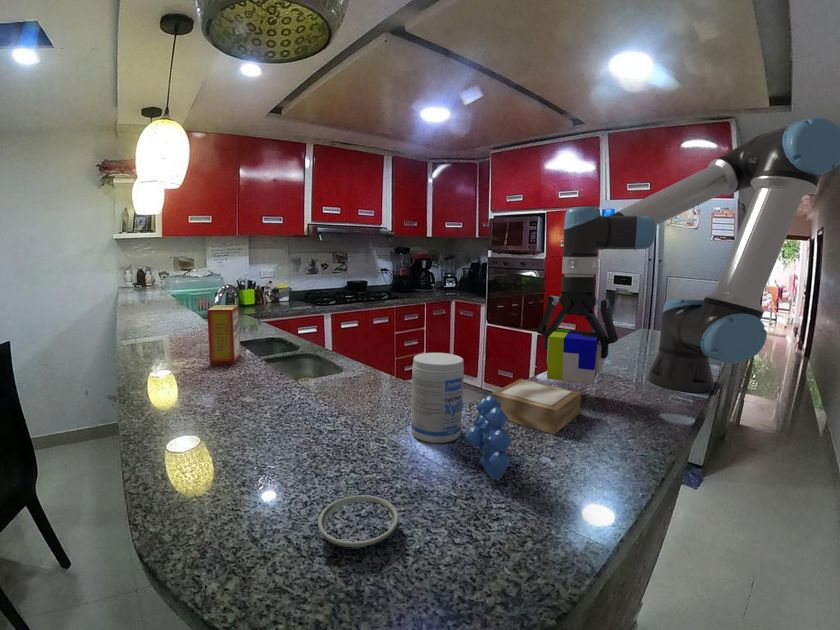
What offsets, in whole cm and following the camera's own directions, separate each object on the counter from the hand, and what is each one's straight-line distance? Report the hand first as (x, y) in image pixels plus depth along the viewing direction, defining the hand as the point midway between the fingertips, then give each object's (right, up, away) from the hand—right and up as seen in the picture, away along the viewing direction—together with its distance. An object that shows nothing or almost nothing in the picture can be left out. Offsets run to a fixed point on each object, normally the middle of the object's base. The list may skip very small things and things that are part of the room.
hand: (573, 367), depth 103 cm
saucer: (-45, -15, -51) cm, 69 cm away
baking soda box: (-95, -1, +25) cm, 99 cm away
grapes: (-27, -12, -35) cm, 46 cm away
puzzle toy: (-1, -2, -1) cm, 3 cm away
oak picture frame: (-12, -9, -11) cm, 19 cm away
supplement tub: (-34, -10, -22) cm, 42 cm away
